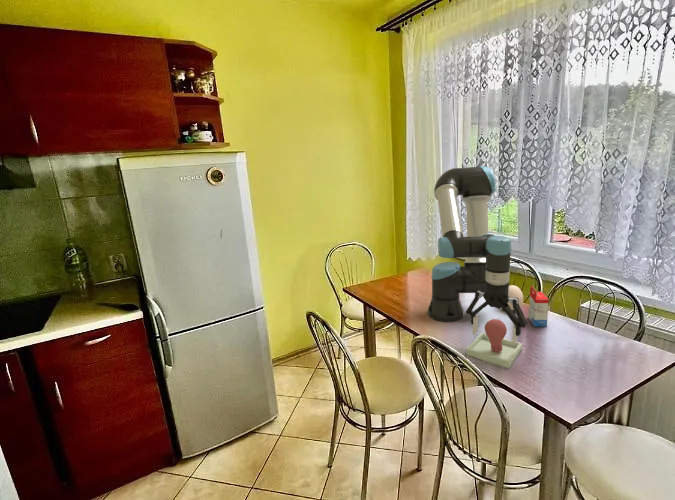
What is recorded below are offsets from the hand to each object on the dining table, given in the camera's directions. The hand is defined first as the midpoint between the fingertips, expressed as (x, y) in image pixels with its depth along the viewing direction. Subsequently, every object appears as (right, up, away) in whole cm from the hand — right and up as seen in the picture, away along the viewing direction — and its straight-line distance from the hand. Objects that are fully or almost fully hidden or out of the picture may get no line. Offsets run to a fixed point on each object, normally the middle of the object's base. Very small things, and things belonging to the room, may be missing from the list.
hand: (494, 337), depth 131 cm
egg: (+22, +4, +34) cm, 41 cm away
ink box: (+27, +1, +21) cm, 34 cm away
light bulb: (+1, -5, 0) cm, 5 cm away
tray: (0, -5, +1) cm, 6 cm away
